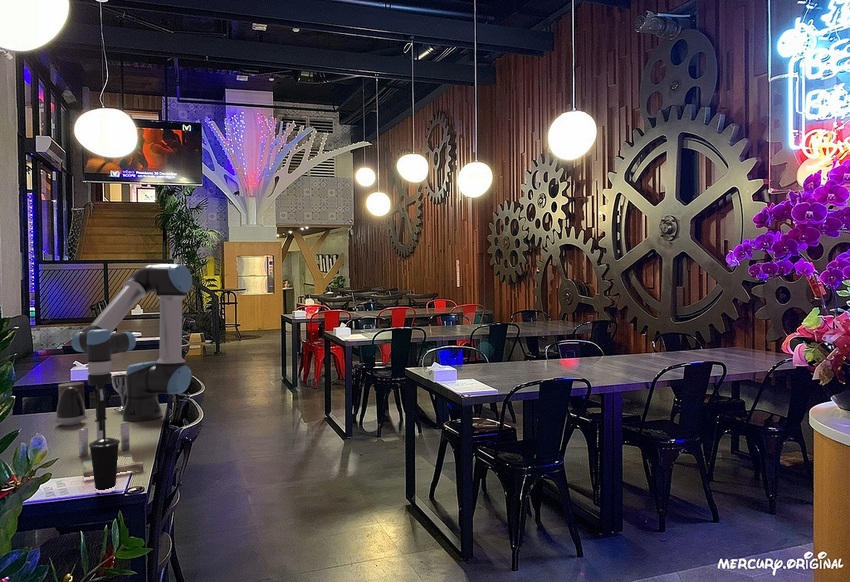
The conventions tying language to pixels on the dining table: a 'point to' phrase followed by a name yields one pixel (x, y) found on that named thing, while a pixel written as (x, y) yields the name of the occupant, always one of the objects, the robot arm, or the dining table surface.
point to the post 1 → (83, 442)
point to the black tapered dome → (70, 407)
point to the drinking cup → (104, 461)
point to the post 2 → (125, 437)
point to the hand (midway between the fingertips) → (101, 438)
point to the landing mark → (91, 460)
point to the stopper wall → (120, 468)
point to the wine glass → (120, 386)
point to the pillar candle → (73, 384)
